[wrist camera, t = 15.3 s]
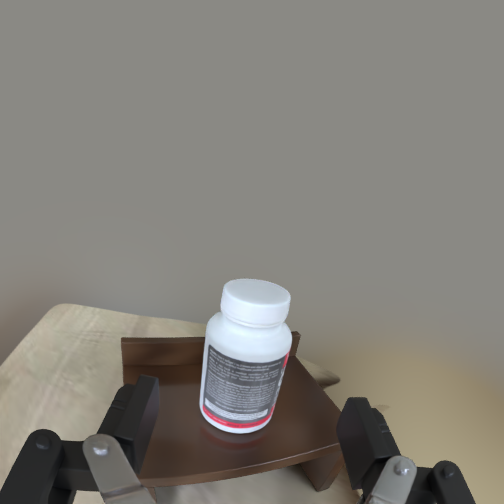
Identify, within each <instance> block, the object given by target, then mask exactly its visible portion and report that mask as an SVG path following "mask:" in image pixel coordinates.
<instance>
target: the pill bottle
mask: <svg viewBox="0 0 504 504" xmlns="http://www.w3.org/2000/svg"><path fill="white" fill-rule="evenodd" d="M290 299H291V297H290V294H289V292H288V291H287V290H286V289H284V288H283V287H281V286H279V285H277V284H274V283H272V282H268V281H264V280H259V279H250V278H243V279H235V280H232V281H229V282H227V283H226V284H225V285H224V289H223V294H222V299H221V311H219V312H217V313H216V314H215V315H213V316H212V317H211V319H210V320H209V322H208V324H207V328H206V333H205V343H204V356H203V366H202V377H201V388H200V409H201V412H202V414H203V416H204V417H205V419H206V420H207V421H208V422H209V423H211V424H212V425H214V426H215V427H217V428H219V429H221V430H223V431H226V432H231V433H239V434H242V433H250V432H253V431H256V430H259V429H261V428H262V427H264V426H265V425H266V424H267V423H268V422H269V420H270V419H271V416H272V414H273V410H274V407H275V404H276V400H277V397H278V393H279V390H280V385H281V382H282V378H283V375H284V371H285V367H286V363H287V360H288V356H289V352H290V348H291V344H292V334H291V331H290V329H289V327H288V326H287V325H286V323H285V322H284V321H285V319H286V317H287V316H288V312H289V311H288V310H289V304H290Z"/></svg>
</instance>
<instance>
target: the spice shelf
mask: <svg viewBox="0 0 504 504" xmlns="http://www.w3.org/2000/svg"><path fill="white" fill-rule="evenodd" d="M291 334H292V344H291V348H290V352H289V356H288V360H287V363H286V367H285V371H284V375H283V378H282V382H281V385H280V390H279V393H278V397H277V400H276V404H275V407H274V410H273V414H272V416H271V419H270V420H269V422H268V423H267V424H266V425H265V426H264V427H262V428H261V429H259V430H256V431H253V432H250V433H242V434H239V433H231V432H226V431H223V430H221V429H219V428H217V427H215V426H214V425H212V424H211V423H209V422H208V421H207V420H206V419H205V417H204V416H203V414H202V412H201V409H200V388H201V377H202V366H203V356H204V343H205V337H180V338H124V337H122V338H121V350H122V363H123V386H124V385H125V384H126V383H129V384H133V385H136V382H137V380H138V378H139V376H140V375H141V374H143V375H147V376H152V377H157V378H158V379H159V412H158V416H157V420H156V423H155V426H154V429H153V433H152V436H151V439H150V442H149V446H148V449H147V452H146V455H145V459H144V462H143V466H142V469H141V472H140V475H138V474H135V475H136V476H137V478H138V480H139V481H140V483H141V484H142V485H144V486H145V487H146V488H147V490H148V491H149V493H150V494H151V496H152V498H153V499H154V501H155V502H156V496H155V489H154V487H162V486H176V485H186V484H196V483H204V482H211V481H218V480H225V479H231V478H236V477H242V476H247V475H252V474H257V473H262V472H266V471H270V470H275V469H279V468H283V467H287V466H290V465H294V464H298V463H300V465H301V467H302V468H303V470H304V471H305V473H306V474H307V476H308V478H309V479H310V481H311V482H312V484H313V485H314V487H315V488H316V490H317V491H318V492H319V491H322V490H325V489H328V488H329V487H330V485H331V484H332V482H333V481H334V479H335V478H336V476H337V475H338V473H339V472H340V470H341V468H342V467H343V465H344V464H345V461H344V458H343V454H342V451H341V447H340V444H339V440H338V437H337V433H336V426H337V421H338V419H339V417H340V415H341V411H340V410H339V409H338V407H337V406H336V405H335V404H334V403H333V401H332V400H331V399H330V398H329V397H328V395H327V394H326V393H325V392H324V391H323V389H322V388H321V387H320V386H319V384H318V383H317V382H316V381H315V380H314V378H313V377H312V376H311V375H310V374H309V372H308V371H307V370H306V369H305V367H304V366H303V365H302V364H301V362H300V361H299V360H298V359H297V358H296V356H295V355H296V351H297V347H298V344H299V340H300V334H299V333H298V332H297V331H295V332H291ZM156 504H157V502H156Z"/></svg>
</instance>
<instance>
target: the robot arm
mask: <svg viewBox="0 0 504 504" xmlns="http://www.w3.org/2000/svg"><path fill="white" fill-rule="evenodd" d="M158 412H159V379H158V378H157V377H152V376H147V375H143V374H141V375H140V376H139V378H138V380H137V382H136V385H133V384H129V383H126V384H125V385H124V386H123V387H121V388H120V389H119V390H118V392H117V394H116V396H115V398H114V400H113V402H112V404H111V407H110V408H109V410H108V412H107V414H106V416H105V418H104V420H103V422H102V424H101V426H100V428H99V430H98V432H97V434H95V435H92V436H90V437H88V438H87V439H86V440H85V441H64V440H61V439H60V437H59V436H58V435H57V434H56V433H55V432H53V431H51V430H47V429H40V430H36V431H34V432H32V433H31V434H30V435H29V437H28V438H27V440H26V442H25V444H24V446H23V448H22V449H21V451H20V453H19V455H18V457H17V459H16V461H15V463H14V465H13V467H12V469H11V471H10V473H9V475H8V477H7V479H6V481H5V483H4V485H3V487H2V489H1V491H0V504H73V500H74V497H75V494H76V491H77V490H81V491H99V492H100V494H101V496H102V498H103V500H104V502H105V504H156V502H155V501H154V499H153V498H152V496H151V494H150V493H149V491H148V490H147V488H146V487H145V486H144V485H142V484H141V483H140V481H139V480H138V478H137V476H136V475H135V474H138V475H140V472H141V469H142V466H143V462H144V459H145V455H146V452H147V449H148V446H149V442H150V439H151V436H152V433H153V429H154V426H155V423H156V420H157V416H158ZM336 433H337V437H338V440H339V444H340V447H341V451H342V454H343V458H344V461H345V465H346V468H347V472H348V475H349V479H350V482H351V486H352V490H356V489H362V490H363V494H362V495H361V497H360V498H359V500H358V502H357V504H436V503H437V504H476V503H475V501H474V499H473V497H472V494H471V492H470V490H469V488H468V486H467V484H466V482H465V480H464V477H463V475H462V473H461V471H460V469H459V468H458V466H456V464H454V463H453V462H450V461H440V462H438V463H437V464H436V465H435V466H434V467H433V468H425V467H416V465H415V463H414V462H413V461H412V460H411V459H409V458H407V457H404V456H401V454H400V451H399V449H398V447H397V445H396V443H395V440H394V438H393V436H392V434H391V432H390V430H389V427H388V426H387V423H386V421H385V419H384V417H383V415H382V414H381V413H380V412H379V411H378V410H377V409H376V408H371V406H370V404H369V402H368V400H367V398H365V397H354V398H353V397H350V398H348V399H347V401H346V404H345V406H344V408H343V410H342V412H341V415H340V417H339V419H338V421H337V426H336Z"/></svg>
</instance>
